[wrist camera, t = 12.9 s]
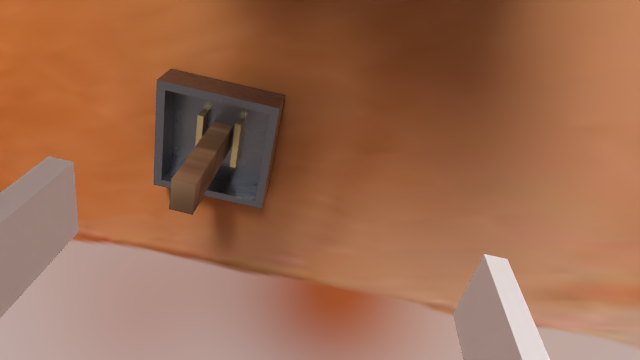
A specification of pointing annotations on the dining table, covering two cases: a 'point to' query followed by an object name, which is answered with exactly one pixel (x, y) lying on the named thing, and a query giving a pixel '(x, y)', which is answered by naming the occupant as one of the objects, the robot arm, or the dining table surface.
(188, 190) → the curved brown wooden bar
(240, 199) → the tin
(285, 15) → the dining table surface
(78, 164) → the dining table surface
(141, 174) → the dining table surface
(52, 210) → the robot arm
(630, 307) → the dining table surface
